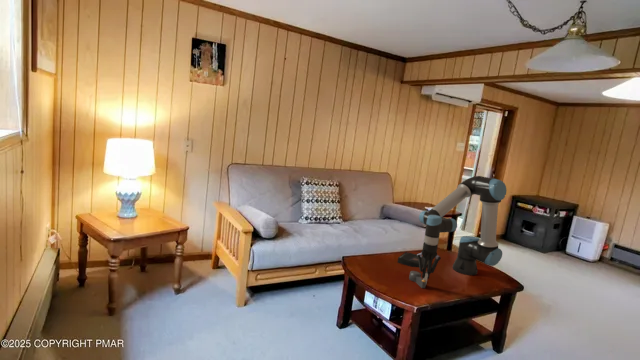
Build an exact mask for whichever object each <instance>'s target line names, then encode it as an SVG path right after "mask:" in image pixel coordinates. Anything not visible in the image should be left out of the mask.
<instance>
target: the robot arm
mask: <svg viewBox="0 0 640 360" xmlns="http://www.w3.org/2000/svg"><path fill="white" fill-rule="evenodd" d="M507 190H508V189H507V185H506V184H505V182H504V181H503V180H501V179H498V178H493V177H488V176H482V175H475V176H471V177H469V178H467V179H465V180H463V181H462V182H460V183H459V184H458V185H457V186H456V188H455V189H454V190H453V191H452V192H450V194H448V195H447V196H446V197H445V198H443V199H442V200H441V201H440V202H438V203H436V205H434V206H433V207H432V208H431V209H430V210H428V211H427V210H422V211H421V212H420V214H419V215H418V220H419V222H420V223H421V224H424V225H425V232H424V238H423V245H422V250H421V252H420V253H417V254H416V255H417V256H418V260H419V267H418V268H419V269H418V270H419V271H420V273H421V278H422V279H423V280H425V281H426V285H427V283H428V280H429V279H430V275H431V274H434V272H435V271H436V267H437V265H438V263H439V262H440V260H441V258H442V257H441V256H440V255H438V247H439V245H438V244H439V240H440V233H451V232H453V233H454V232H455V231H456V230H457V227H458V222H457V220H456V219H454V218H451V217H448V218H446V217H444V216H446V215H447V214H448V213H449V212H450V211H451V210H452V209H454V208H455V207H456V206H458V205H459V204H460V203H461V202H462V201H464V200H465V199H466V198H470V197H471V196H473V195H475V196H479V201H480V202H481V203H482V204H481V205H482V206H481V222H480V238H479V237H476V236H471V235H464V236H461V237H460V240H459V244H458V248H457V249H458V251H457V254H456V255H457V257H456V259H455V260H454V263H453V264H452V266H451V268H452V270H453V271H455V272H456V273H459V274H464V275H467V276H475V275H477V274H478V266H477V261H478V262H480V263H483V264H485V265H487V266H489V267H490V266H491V267H493V266H496V265H497V264H498V263H500V261H501V259H502V257H503V251H502V249H501V248H499V243H498V242H497V226H498V214H499V213H498V211H499V209H498V208H499V204H500V203H501V202H502V200H504V199H505V197H506V195H507ZM422 256H423V257H424V264H423V268H422V259H421V257H422ZM428 260H429V261H428ZM427 262H428V265H427Z"/></svg>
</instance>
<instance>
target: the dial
mask: <svg viewBox="0 0 640 360" xmlns="http://www.w3.org/2000/svg"><path fill="white" fill-rule="evenodd" d="M408 276H409V277H408V280H409V281H410V282H414V283H416V284H417V285H418V286H419V287H420V288H421V289H426V286H427V284H426V281H425V280H423V278H422V272H419V271H416V270H411V271H410V272H409V275H408Z"/></svg>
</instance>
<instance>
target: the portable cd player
mask: <svg viewBox="0 0 640 360" xmlns="http://www.w3.org/2000/svg"><path fill="white" fill-rule="evenodd" d="M421 259H422V268H423V264H424V257H423V255H422V257H421ZM428 261H429V260H428ZM396 263H398V264H400V265H404V266H407V267H411V268H419V260H418V256H417V254H416V253H412V252H409V251H405V252H404V253H402V254H401V255H400V256H398V257H397V262H396ZM427 266H428V262H427Z"/></svg>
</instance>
